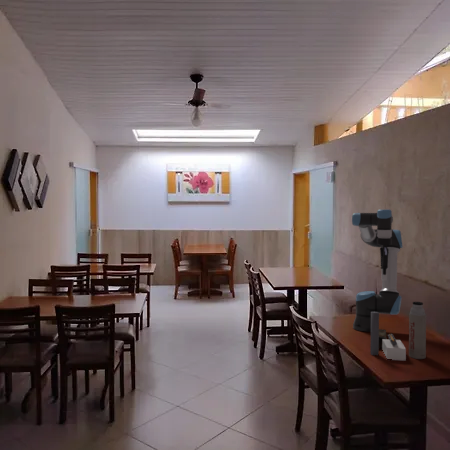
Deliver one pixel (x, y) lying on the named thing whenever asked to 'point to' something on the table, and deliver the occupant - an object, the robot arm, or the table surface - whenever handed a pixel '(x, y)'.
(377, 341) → the post
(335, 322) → the table surface
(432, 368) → the table surface
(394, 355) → the breaker box
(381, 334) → the beverage carton
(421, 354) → the thermos bottle
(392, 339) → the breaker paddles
